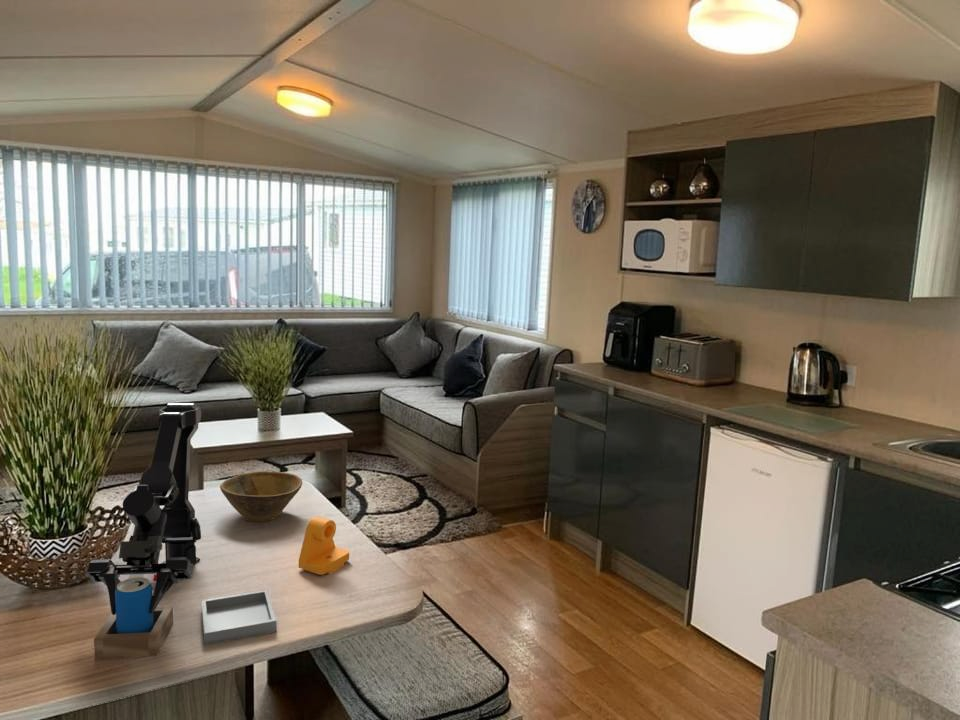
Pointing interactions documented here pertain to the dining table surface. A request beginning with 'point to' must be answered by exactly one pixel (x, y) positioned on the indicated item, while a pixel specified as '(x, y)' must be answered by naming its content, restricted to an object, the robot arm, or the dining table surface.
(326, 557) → the bracket
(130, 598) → the beverage can
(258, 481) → the bowl
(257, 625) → the tray
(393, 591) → the dining table surface
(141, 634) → the socket block
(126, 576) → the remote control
